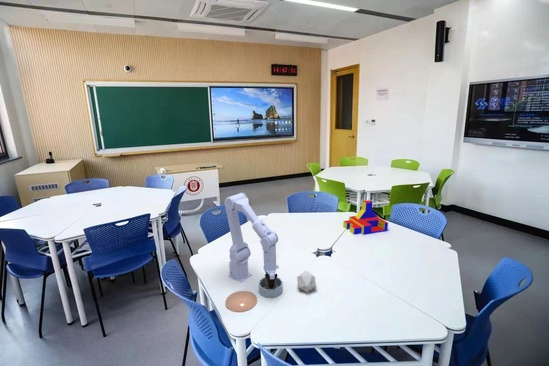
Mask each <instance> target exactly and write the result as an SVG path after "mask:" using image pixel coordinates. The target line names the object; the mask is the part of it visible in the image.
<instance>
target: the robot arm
mask: <svg viewBox="0 0 549 366" xmlns="http://www.w3.org/2000/svg"><path fill="white" fill-rule="evenodd" d="M249 201H250V200H249V198H248V197H247V195H246V193H244V192H239V193H237V194H234V195H231V196H227V197H226V198H225V200H224V207H225V213H226V218H227V221H228V227H229V230H230V236H231V240H232V241H231V242H232V245H231V246H230V248H229V260H230V261H229V264H228V266H229V268H228V269H229V275H228V277H229V278H231V279H234V280H236V281H238V282H240V283H243V282H245V281H246V280H247V279H249V278H250V277H251V276H253V274H252V273H250V272H249V262H248V261H249V260H250V259H249V257H250V256H251V255H252V254H251V250H250V248H249V245H248V243H247V242H244V238H243V232H242V228H241V222H240V218H239V214H238V212H240V213H241V212H242V213H243V214H244V215H245V217H246V218H247V219H248V220H249V221H250V222H251V224H252V229H253V230H254V232H255V233H256V235H257V236H258V237H259V239H260V241H259V243H260V245H261V248H262V251H263V253H262V254H263V270H264V272H265V273H264V276H265V277H266V279H267V281H268V285H269V288H273V287H274V284H275V280H276V278H277V277H278V273H276V272H277V269H279V268H280V266H279V264H277V243H279V237H278V234H277V232H275V231H272V229H269V227H268V226H267V224H266V223H265V222H264V221H263V220H264V219H259V218H258V216H257V214H256V213H255V212H254V209H253V208H252V207H251V205H250V203H249Z"/></svg>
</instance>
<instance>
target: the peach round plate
mask: <svg viewBox="0 0 549 366" xmlns="http://www.w3.org/2000/svg"><path fill="white" fill-rule="evenodd" d="M257 302H258V297H257V295H256V294H254V293H253V292H252V291H249V290H239V291H235V292H233V293H231V294H229V295H228V296H227V297H226V299H225V307H226V309H227V310H229V311H231V312H233V313H244V312H248V311H250V310H252V309H253V308H255V306H256V305H257Z"/></svg>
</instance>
